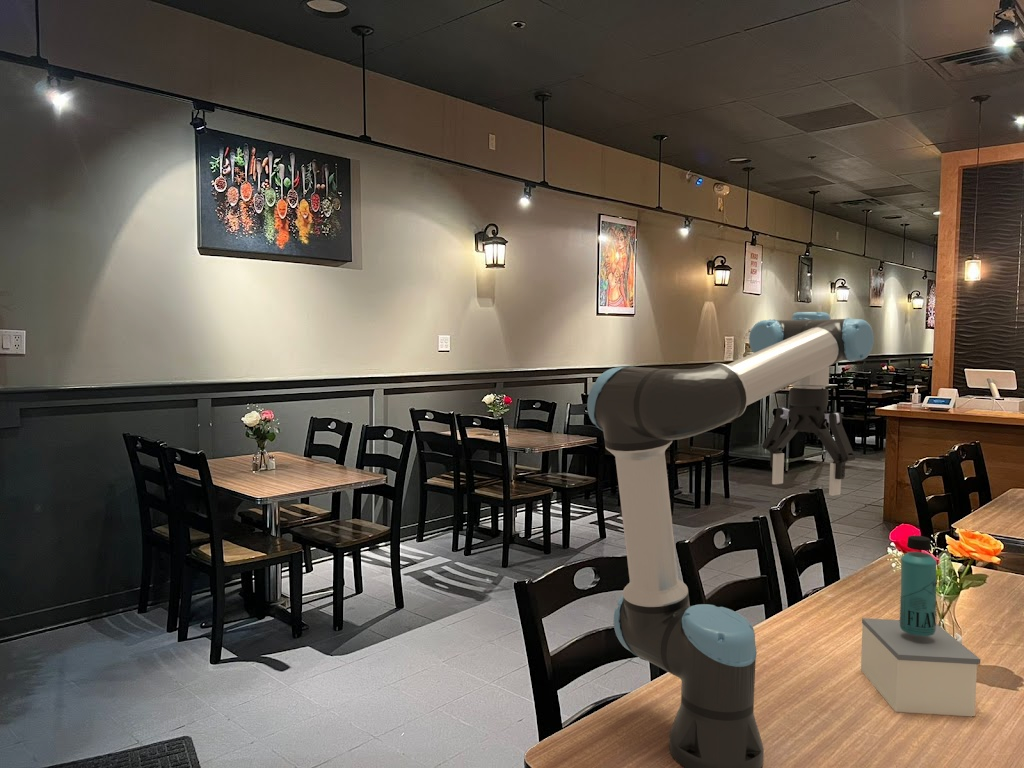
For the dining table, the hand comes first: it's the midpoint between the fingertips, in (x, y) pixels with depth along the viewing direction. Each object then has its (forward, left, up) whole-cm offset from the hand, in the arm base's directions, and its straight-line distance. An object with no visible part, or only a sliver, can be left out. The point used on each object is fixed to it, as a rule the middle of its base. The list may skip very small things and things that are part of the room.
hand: (805, 489), depth 155 cm
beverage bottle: (+20, -8, -28) cm, 35 cm away
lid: (+20, -7, -28) cm, 36 cm away
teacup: (+32, +10, -39) cm, 51 cm away
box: (+20, -7, -38) cm, 44 cm away
